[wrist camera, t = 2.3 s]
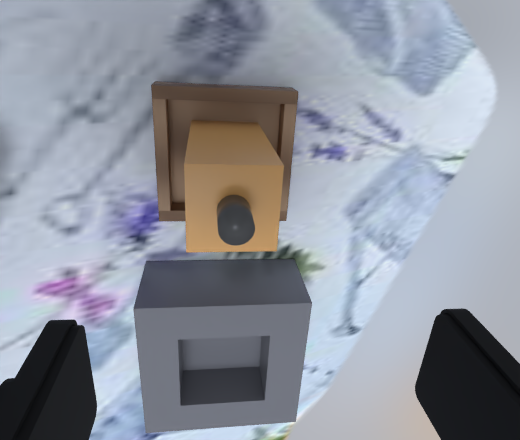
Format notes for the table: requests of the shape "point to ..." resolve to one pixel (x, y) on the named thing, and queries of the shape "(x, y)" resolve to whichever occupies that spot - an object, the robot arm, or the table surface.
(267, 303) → the socket block
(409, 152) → the table surface
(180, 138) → the tray
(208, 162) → the plug
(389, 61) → the table surface
